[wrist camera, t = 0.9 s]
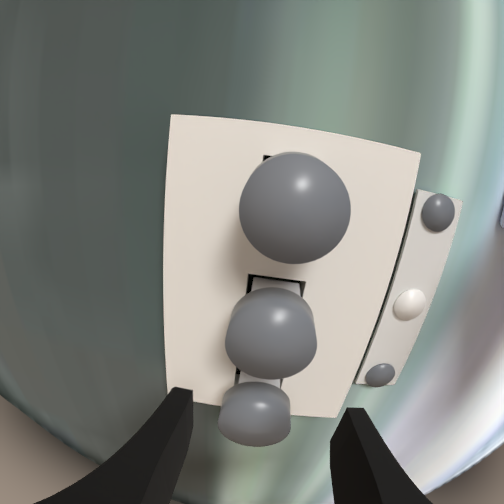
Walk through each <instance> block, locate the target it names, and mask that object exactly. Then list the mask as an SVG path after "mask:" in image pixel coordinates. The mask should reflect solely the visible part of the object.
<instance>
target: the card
mask: <svg viewBox="0 0 504 504" xmlns="http://www.w3.org/2000/svg"><path fill="white" fill-rule="evenodd" d="M462 204H463V201H461V200H458V199H455V198H451V197H448V196H446V195H444V194H436V193H432V192H428V191H424V190H419V189H416V194H415V198H414V203H413V207H412V211H411V215H410V220H409V224H408V227H407V231H406V235H405V239H404V243H403V246H402V250H401V253H400V257H399V260H398V264H397V267H396V270H395V274H394V277H393V280H392V283H391V286H390V289H389V292H388V295H387V298H386V301H385V304H384V307H383V310H382V313H381V316H380V319H379V321H378V324H377V327H376V330H375V332H374V335H373V338H372V340H371V343H370V345H369V348H368V351H367V353H366V356H365V358H364V361H363V363H362V365H361V368H360V370H359V373H358V375H357V377H356V380H355V383H356V384H368V385H369V386H372V387H381V386H384V385H395V383H396V381H397V379H398V377H399V375H400V373H401V371H402V369H403V367H404V365H405V363H406V360H407V358H408V356H409V354H410V352H411V350H412V348H413V345H414V343H415V341H416V339H417V336H418V334H419V332H420V329H421V327H422V325H423V322H424V320H425V318H426V315H427V313H428V310H429V308H430V305H431V302H432V300H433V297H434V295H435V292H436V289H437V286H438V284H439V281H440V278H441V275H442V272H443V269H444V266H445V263H446V260H447V257H448V254H449V251H450V247H451V244H452V241H453V237H454V234H455V230H456V227H457V223H458V220H459V216H460V212H461V208H462Z"/></svg>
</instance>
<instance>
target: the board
mask: <svg viewBox="0 0 504 504" xmlns="http://www.w3.org/2000/svg"><path fill="white" fill-rule="evenodd" d="M284 152H302V153H307V154H310V155H312V156H314V157H316V158H318V159H320V160H321V161H323V162H324V163H325V164H326V165H328V166H329V167H330V168H331V169H332V170H333V171H335V172H336V173H337V175H338V176H339V177H340V178H341V180H342V181H343V183H344V185H345V186H346V189H347V191H348V194H349V198H350V204H351V216H350V222H349V225H348V228H347V231H346V233H345V235H344V237H343V238H342V240H341V241H340V242H339V244H338V245H337V246H336V247H335V248H334V249H333V250H332V251H331V252H329V253H328V254H327V255H325V256H323V257H322V258H320V259H317V260H315V261H312V262H308V263H303V264H286V263H281V262H278V261H275V260H272V259H270V258H268V257H266V256H264V255H263V254H261V253H260V252H259V251H258V250H256V249H255V248H254V247H253V245H252V244H251V243H250V242H249V240H248V239H247V237H246V236H245V234H244V232H243V229H242V227H241V223H240V219H239V202H240V197H241V194H242V191H243V189H244V187H245V184H246V183H247V181H248V179H249V177H250V175H251V174H252V172H253V171H254V170H255V169H256V167H257V166H258V165H259V164H261V163H262V162H263V161H264V156H265V155H269V156H273V155H276V154H279V153H284ZM420 156H421V153H418V152H414V151H410V150H407V149H403V148H399V147H395V146H391V145H387V144H383V143H378V142H374V141H370V140H365V139H360V138H356V137H351V136H346V135H341V134H336V133H330V132H325V131H319V130H313V129H308V128H301V127H295V126H288V125H281V124H274V123H266V122H258V121H249V120H240V119H230V118H219V117H206V116H191V115H171V122H170V133H169V145H168V158H167V173H166V191H165V213H164V253H163V296H164V335H165V358H166V375H167V390H168V394H169V392H170V390H171V389H172V388H173V387H180V388H185V389H190V390H193V401H195V402H200V403H206V404H211V405H217V406H221V404H222V399H223V396H224V394H225V392H226V391H227V390H228V389H229V388H231V387H233V386H234V385H237V384H239V377H240V375H239V374H236V372H237V367H236V366H235V365H234V364H233V363H232V362H231V360H230V359H229V357H228V355H227V352H226V349H225V338H226V333H227V329H228V325H229V321H230V317H231V313H232V310H233V308H234V306H235V305H236V303H237V302H238V301H239V300H240V299H241V298H242V297H243V296H245V295H246V294H247V287H248V279H249V274H255V275H262V276H269V277H276V278H283V279H291V280H298V281H300V286H299V287H300V296H301V297H302V298H303V299H304V300H305V301H306V302H307V303H308V305H309V306H310V308H311V310H312V313H313V317H314V324H315V331H316V337H317V350H316V354H315V356H314V358H313V360H312V361H311V363H310V364H309V365H308V366H307V367H306V368H305V369H304V370H302V371H301V372H299V373H297V374H295V375H293V376H290V377H287V378H283V379H280V389H281V390H283V391H284V392H285V393H286V394H287V396H288V397H289V399H290V415H299V416H313V417H333V418H336V417H337V415H338V413H339V411H340V409H341V406H342V404H343V402H344V400H345V398H346V395H347V393H348V391H349V389H350V386H351V384H352V382H353V379H354V377H355V375H356V372H357V370H358V367H359V365H360V362H361V360H362V358H363V355H364V352H365V350H366V347H367V345H368V342H369V340H370V337H371V334H372V331H373V329H374V326H375V323H376V320H377V318H378V315H379V312H380V309H381V306H382V303H383V300H384V297H385V294H386V291H387V288H388V285H389V282H390V278H391V275H392V272H393V269H394V265H395V262H396V258H397V255H398V251H399V248H400V244H401V240H402V237H403V233H404V229H405V225H406V221H407V217H408V213H409V209H410V205H411V200H412V196H413V191H414V187H415V182H416V177H417V172H418V167H419V161H420Z"/></svg>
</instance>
